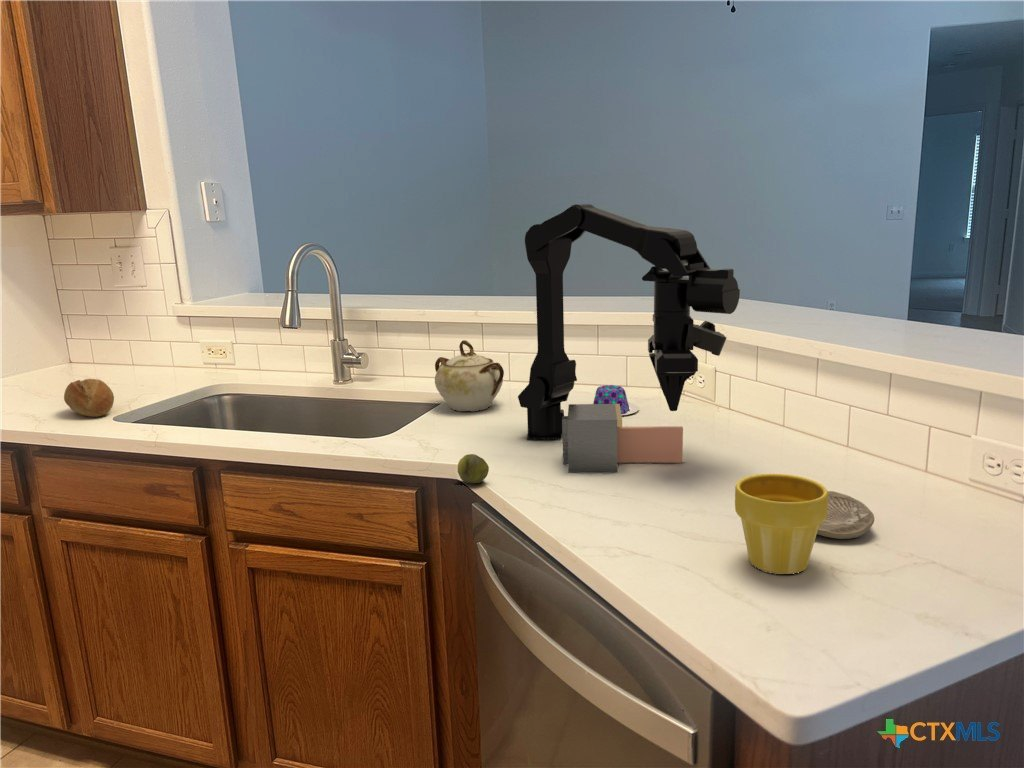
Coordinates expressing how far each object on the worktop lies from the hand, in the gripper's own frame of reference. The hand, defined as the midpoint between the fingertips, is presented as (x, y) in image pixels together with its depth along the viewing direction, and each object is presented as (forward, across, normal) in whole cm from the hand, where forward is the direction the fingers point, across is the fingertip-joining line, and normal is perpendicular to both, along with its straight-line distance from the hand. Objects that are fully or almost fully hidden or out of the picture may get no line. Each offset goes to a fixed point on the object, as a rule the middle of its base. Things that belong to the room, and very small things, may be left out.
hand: (670, 403), depth 128 cm
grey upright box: (+10, 0, +13) cm, 17 cm away
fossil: (+11, -26, -18) cm, 34 cm away
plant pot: (+10, -37, -9) cm, 40 cm away
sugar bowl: (+11, +37, +40) cm, 56 cm away
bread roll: (+11, +35, +127) cm, 132 cm away
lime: (+11, -10, +32) cm, 35 cm away
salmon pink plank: (+10, 0, +7) cm, 12 cm away
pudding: (+11, +34, +9) cm, 37 cm away
